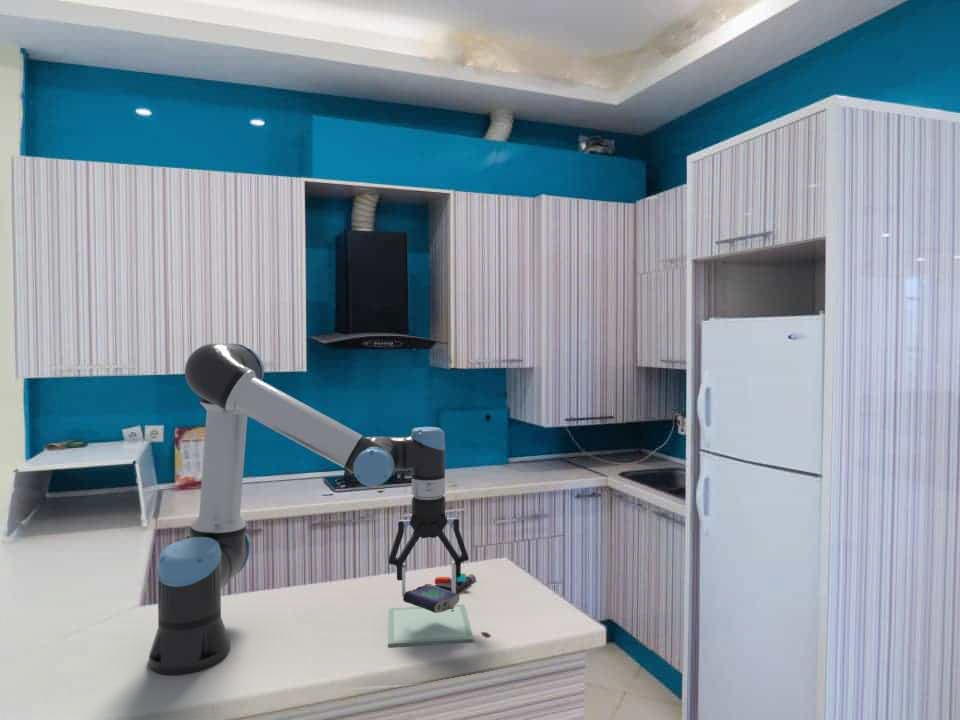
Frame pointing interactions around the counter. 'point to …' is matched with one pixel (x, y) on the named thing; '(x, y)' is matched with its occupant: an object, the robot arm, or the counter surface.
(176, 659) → the robot arm
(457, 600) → the blue clover box
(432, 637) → the mat
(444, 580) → the toy gun
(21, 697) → the counter surface
